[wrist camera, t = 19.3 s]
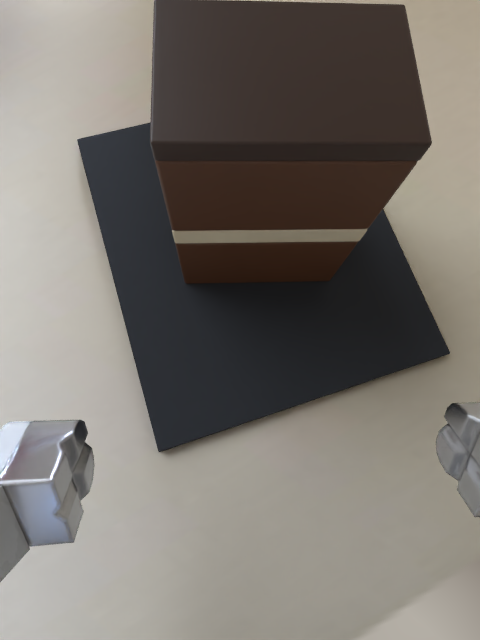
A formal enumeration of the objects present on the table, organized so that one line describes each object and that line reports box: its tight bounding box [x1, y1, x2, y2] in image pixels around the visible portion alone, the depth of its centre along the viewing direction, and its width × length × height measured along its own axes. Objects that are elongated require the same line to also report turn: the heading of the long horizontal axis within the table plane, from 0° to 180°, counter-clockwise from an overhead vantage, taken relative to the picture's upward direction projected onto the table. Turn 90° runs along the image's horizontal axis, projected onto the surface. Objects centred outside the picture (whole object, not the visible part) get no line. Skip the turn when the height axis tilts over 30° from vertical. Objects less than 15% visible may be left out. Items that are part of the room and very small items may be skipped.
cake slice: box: [150, 0, 432, 284], centre depth 13 cm, size 4×6×8 cm, turn 92°
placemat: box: [77, 123, 450, 452], centre depth 17 cm, size 14×12×1 cm
